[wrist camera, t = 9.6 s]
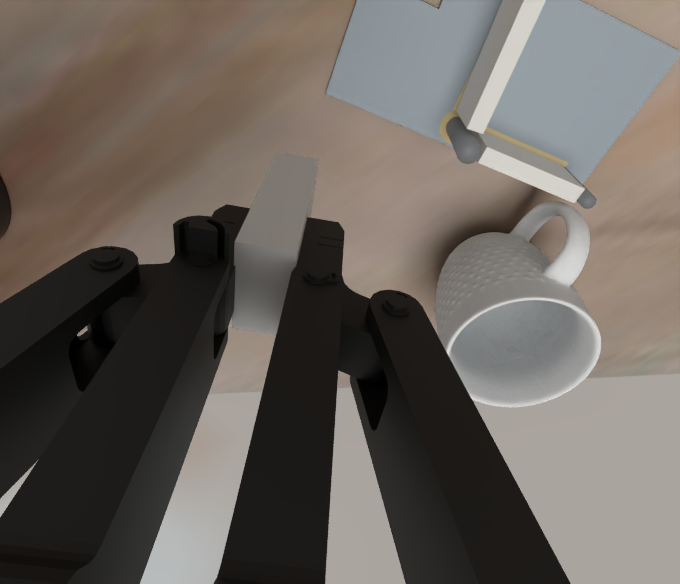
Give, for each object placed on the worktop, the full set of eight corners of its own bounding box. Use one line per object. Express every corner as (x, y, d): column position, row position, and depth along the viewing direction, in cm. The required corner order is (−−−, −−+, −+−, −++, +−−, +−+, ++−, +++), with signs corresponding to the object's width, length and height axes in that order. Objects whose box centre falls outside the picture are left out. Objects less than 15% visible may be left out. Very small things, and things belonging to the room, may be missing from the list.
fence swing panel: (514, -30, 28) (540, -31, 24) (531, -23, 29) (560, -24, 24) (456, 110, 34) (468, 131, 29) (470, 115, 34) (484, 136, 29)
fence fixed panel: (441, 131, 35) (452, 158, 30) (451, 111, 34) (464, 136, 29) (557, 181, 37) (588, 215, 32) (570, 163, 36) (603, 196, 31)
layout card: (326, 92, 34) (325, 93, 34) (389, -96, 28) (389, -97, 27) (570, 195, 38) (572, 198, 37) (679, 51, 31) (682, 52, 31)
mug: (490, 151, 36) (536, 223, 25) (600, 201, 38) (687, 287, 27) (407, 286, 44) (416, 382, 34) (501, 322, 46) (538, 424, 36)
